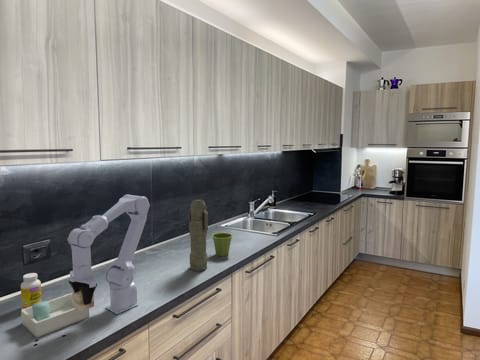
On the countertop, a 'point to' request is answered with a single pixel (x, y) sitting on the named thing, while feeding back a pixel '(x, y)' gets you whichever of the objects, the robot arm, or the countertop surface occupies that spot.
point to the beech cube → (81, 302)
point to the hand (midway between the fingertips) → (83, 301)
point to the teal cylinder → (41, 310)
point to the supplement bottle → (30, 290)
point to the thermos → (198, 235)
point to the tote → (53, 316)
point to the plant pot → (222, 243)
